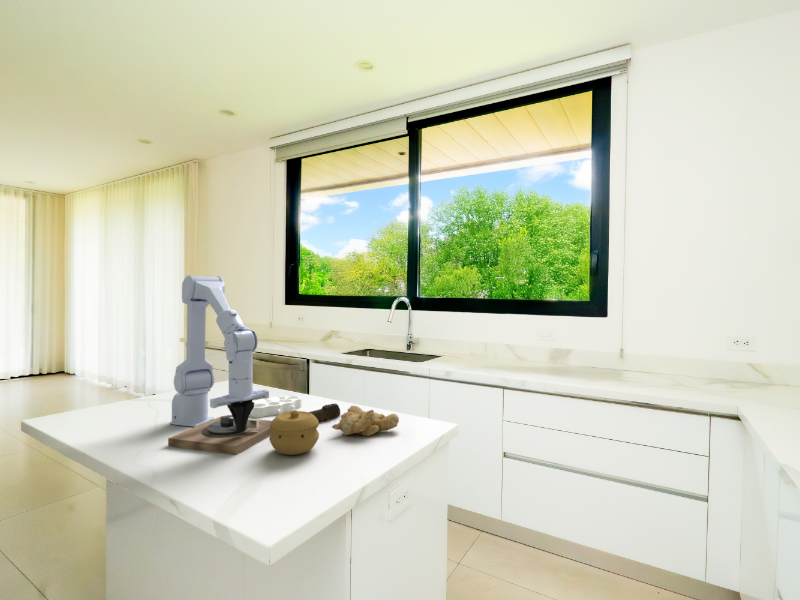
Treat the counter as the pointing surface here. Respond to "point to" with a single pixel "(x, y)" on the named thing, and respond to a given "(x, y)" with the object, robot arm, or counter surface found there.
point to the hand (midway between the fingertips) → (240, 430)
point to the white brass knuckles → (275, 405)
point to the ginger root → (365, 422)
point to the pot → (294, 432)
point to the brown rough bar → (327, 412)
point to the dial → (229, 425)
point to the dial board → (220, 438)
